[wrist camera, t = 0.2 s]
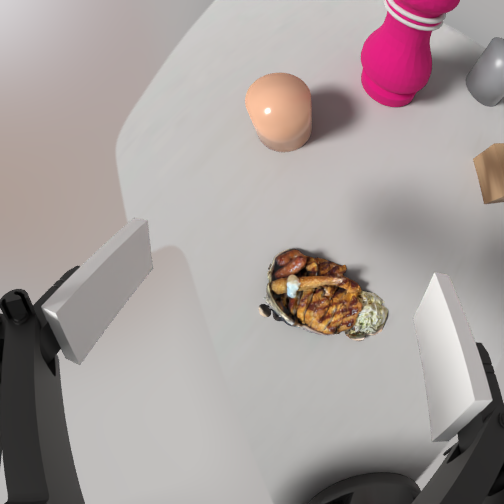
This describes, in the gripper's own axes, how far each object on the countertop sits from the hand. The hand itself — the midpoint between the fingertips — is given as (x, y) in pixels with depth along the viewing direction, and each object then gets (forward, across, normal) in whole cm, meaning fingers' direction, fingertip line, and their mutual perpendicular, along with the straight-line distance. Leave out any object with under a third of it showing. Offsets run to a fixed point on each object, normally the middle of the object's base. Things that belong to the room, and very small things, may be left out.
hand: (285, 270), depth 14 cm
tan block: (+20, -21, -2) cm, 29 cm away
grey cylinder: (+27, -20, -12) cm, 36 cm away
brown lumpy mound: (+12, -4, +11) cm, 17 cm away
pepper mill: (+25, -7, -9) cm, 28 cm away
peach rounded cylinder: (+21, +3, -2) cm, 21 cm away
